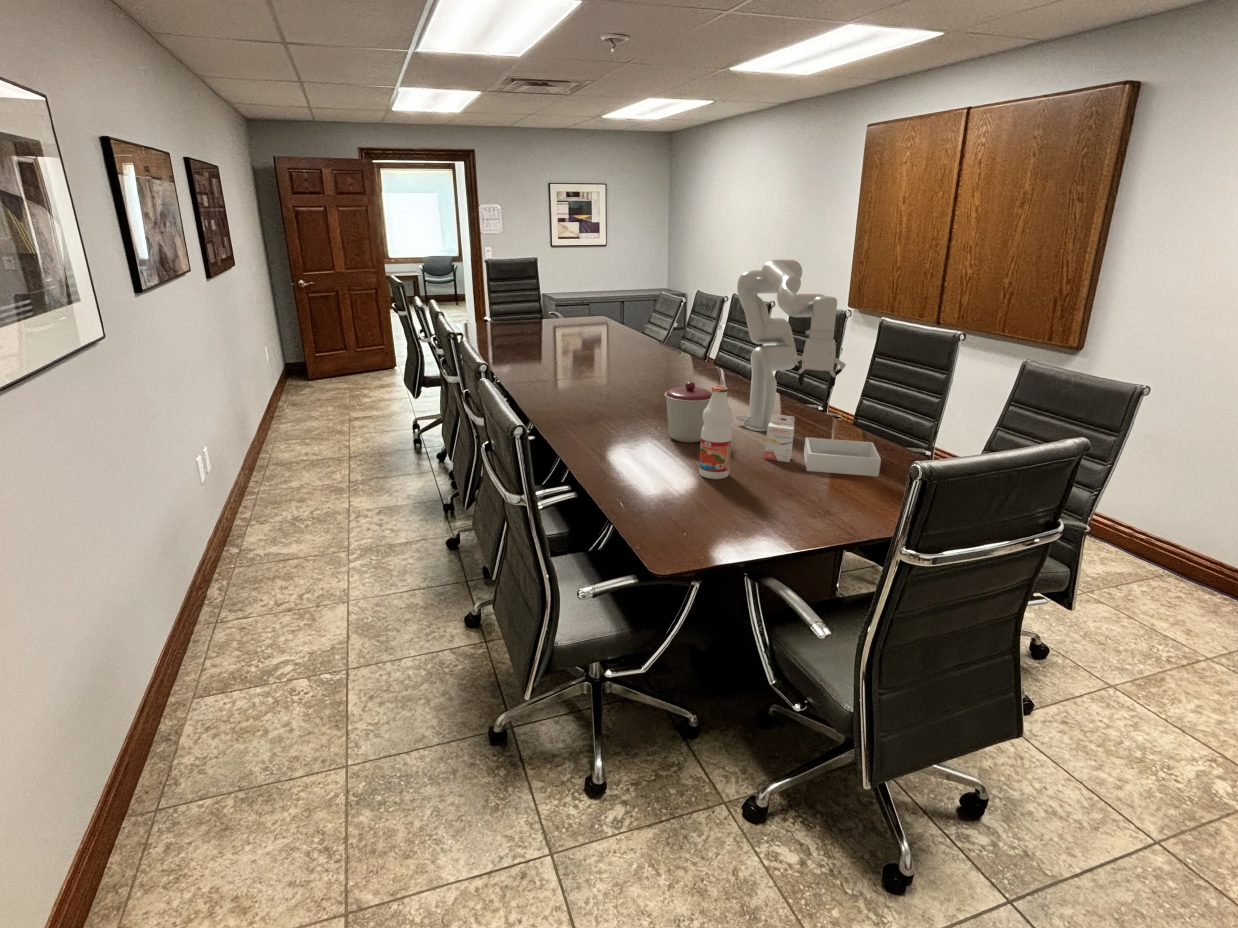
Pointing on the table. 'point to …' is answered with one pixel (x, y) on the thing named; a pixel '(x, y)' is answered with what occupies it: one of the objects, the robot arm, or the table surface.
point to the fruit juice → (716, 436)
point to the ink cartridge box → (779, 438)
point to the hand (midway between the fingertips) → (816, 386)
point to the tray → (841, 457)
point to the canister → (686, 411)
